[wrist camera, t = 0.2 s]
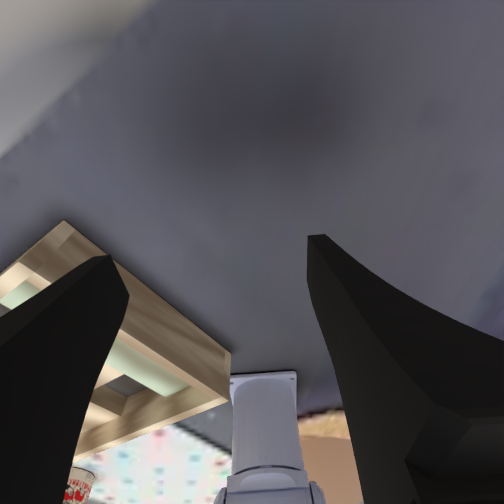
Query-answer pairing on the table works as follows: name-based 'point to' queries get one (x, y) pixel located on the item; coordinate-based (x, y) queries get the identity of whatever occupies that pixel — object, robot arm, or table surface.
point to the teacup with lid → (78, 486)
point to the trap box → (129, 350)
